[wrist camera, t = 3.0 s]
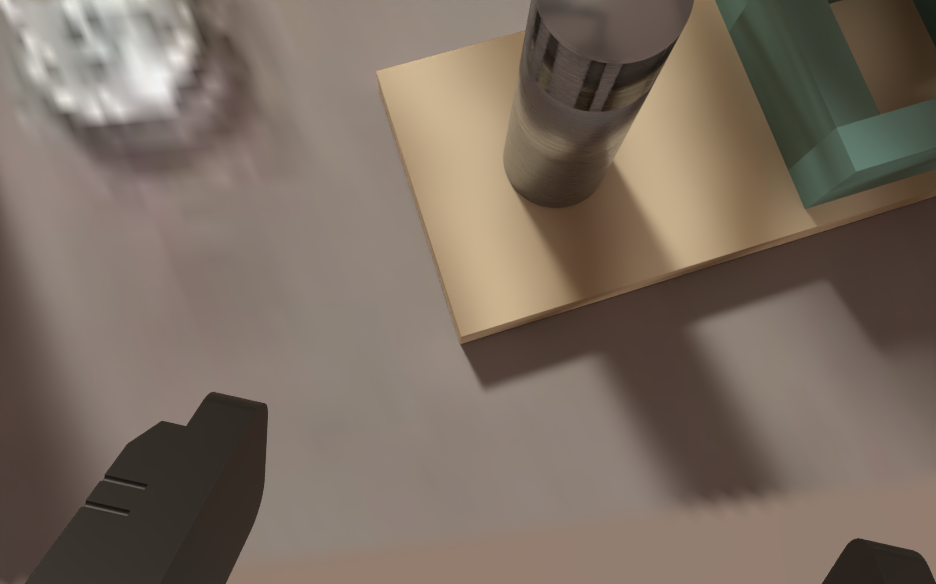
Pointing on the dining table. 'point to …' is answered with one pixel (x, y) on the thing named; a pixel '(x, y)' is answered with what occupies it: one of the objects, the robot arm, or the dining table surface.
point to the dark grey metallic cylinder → (583, 90)
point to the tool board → (674, 154)
